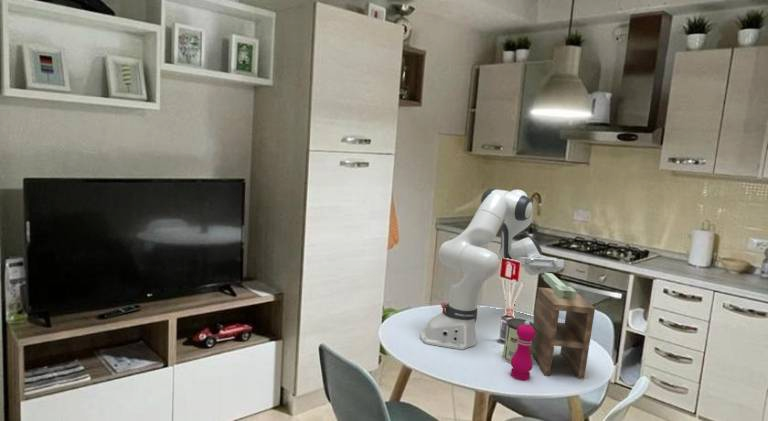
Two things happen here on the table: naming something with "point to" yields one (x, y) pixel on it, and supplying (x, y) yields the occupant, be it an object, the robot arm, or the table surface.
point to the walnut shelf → (562, 331)
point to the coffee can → (513, 338)
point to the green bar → (559, 287)
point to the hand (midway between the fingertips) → (542, 261)
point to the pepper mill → (523, 352)
